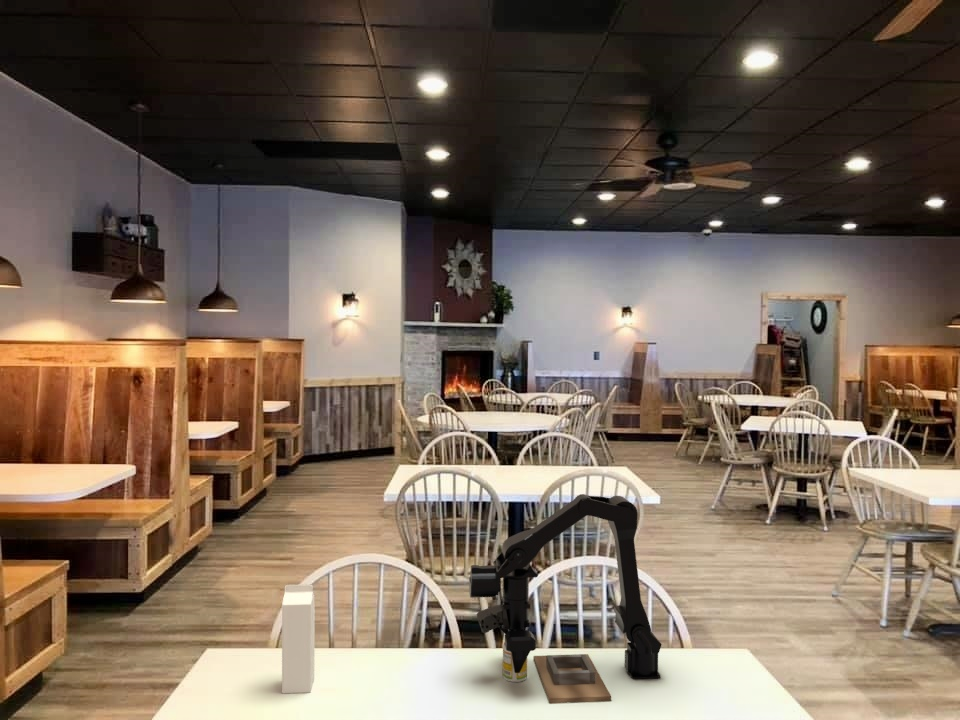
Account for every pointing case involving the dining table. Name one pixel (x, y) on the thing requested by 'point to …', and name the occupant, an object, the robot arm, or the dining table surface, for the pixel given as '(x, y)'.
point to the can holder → (570, 679)
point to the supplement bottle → (512, 668)
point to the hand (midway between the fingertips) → (515, 665)
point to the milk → (298, 638)
